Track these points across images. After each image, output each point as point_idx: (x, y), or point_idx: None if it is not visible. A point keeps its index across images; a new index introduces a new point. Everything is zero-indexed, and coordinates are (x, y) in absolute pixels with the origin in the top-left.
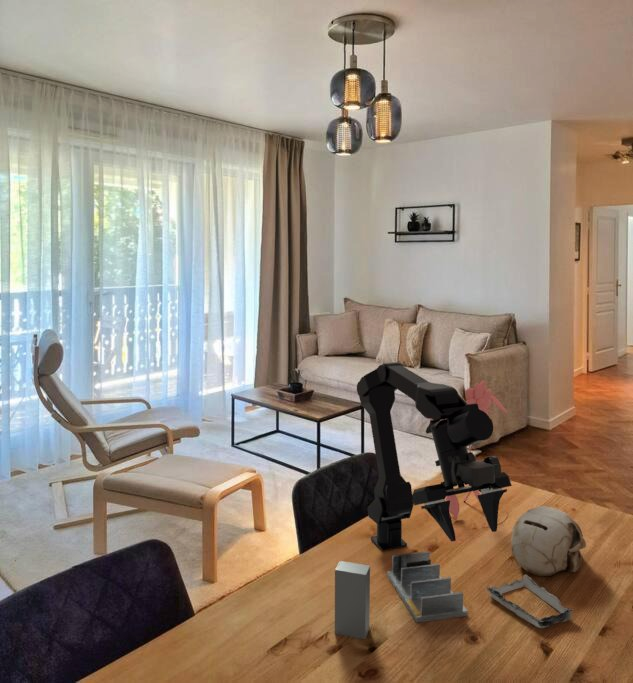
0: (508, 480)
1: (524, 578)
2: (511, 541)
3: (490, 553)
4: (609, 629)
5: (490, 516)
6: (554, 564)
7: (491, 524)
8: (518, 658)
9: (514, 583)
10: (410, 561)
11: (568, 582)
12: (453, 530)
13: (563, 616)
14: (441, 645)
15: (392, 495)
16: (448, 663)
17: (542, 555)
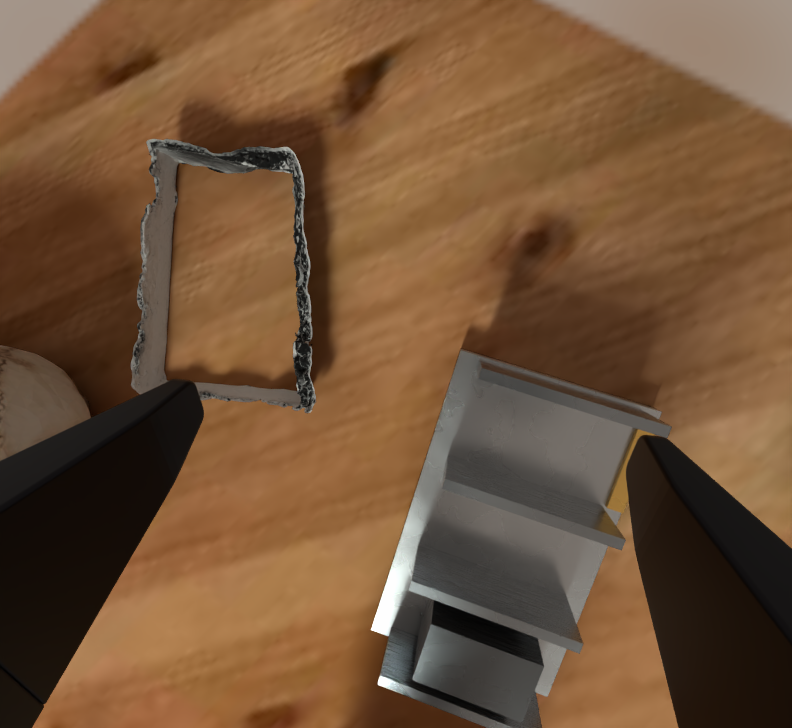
0: None
1: (145, 387)
2: None
3: (122, 584)
4: (107, 65)
5: (106, 496)
6: (3, 347)
7: (165, 443)
8: (483, 85)
9: None
10: (519, 664)
11: (25, 321)
12: (698, 497)
13: (193, 158)
14: (667, 265)
15: None
16: (719, 175)
17: (6, 379)
